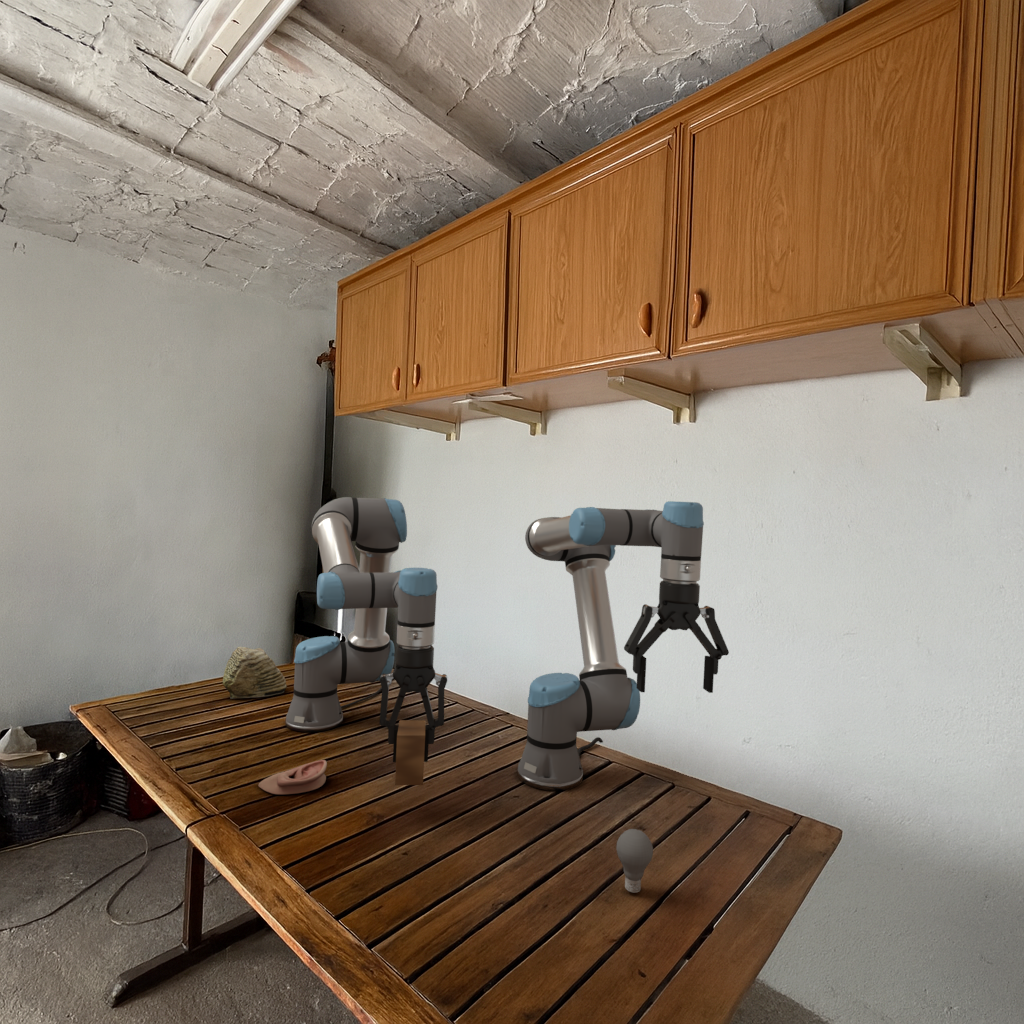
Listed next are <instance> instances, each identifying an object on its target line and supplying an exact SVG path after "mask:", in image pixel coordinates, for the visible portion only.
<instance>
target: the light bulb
mask: <svg viewBox="0 0 1024 1024" xmlns="http://www.w3.org/2000/svg"><path fill="white" fill-rule="evenodd" d="M615 849H616V854H617V857H618V859H619V861H620V863H621V865H622V867H623V873H624V874H623V875H624V876H625V878H624V888H625V890H627V891H628V892H630V893H634V894H635V893H639V892H640V891H641V889H642V887H641V886H642V879H643V877H644V875H645V871H646V868H647V867H648V866H649V864H650V863H651V861H652V859H653V855H654V847H653V843H652V841H651V838H649V836H648V835H647V834H646V833H645V832H643V831H642V830H641V829H636V828H629V829H627V830H625V831H623V832H622V833H621V834H620V835H619V837H618V839H617V841H616V847H615Z"/></svg>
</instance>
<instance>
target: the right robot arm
mask: <svg viewBox="0 0 1024 1024" xmlns="http://www.w3.org/2000/svg"><path fill="white" fill-rule="evenodd" d="M704 525H705V522H704V507H703V505H702V504H701V503H700V502H695V501H672V500H671V501H666V502H665V503H664V504H663V509H662V510H657V509H634V508H633V509H632V508H631V509H629V508H604V507H603V508H602V507H594V506H585V507H577V508H575V509H573V511H572V513H571V514H570V515H566V516H561V517H559V516H548V517H541V518H538V519H536V520H534V521H532V522H531V523H530V524H529V525H528V527H527V529H526V531H525V536H524V538H525V539H524V541H525V545H526V547H527V549H528V550H529V552H530V553H532V554H533V555H534V556H536V557H537V558H538V559H539V558H540V559H542V560H544V561H550V562H564V564H565V571H566V572H567V573H568V574H570V575H571V576H572V582H573V583H572V584H573V589H574V598H575V606H576V613H577V621H578V629H579V638H580V644H581V653H582V660H583V668H582V669H581V671H580V672H579V673H578V676H577V675H576V674H574V673H569V672H564V673H562V672H551V673H546V674H543V675H540V676H537V677H535V678H534V679H532V681H531V682H530V685H529V690H528V697H527V726H526V727H527V729H526V741H525V742H526V743H525V745H524V748H523V752H522V755H521V758H520V760H519V761H518V765H517V777H518V779H519V780H520V782H522V783H524V785H527V786H529V787H532V788H535V789H539V790H544V791H565V790H569V789H570V790H571V789H574V788H576V787H578V786H579V785H581V784H582V782H583V779H584V778H583V777H584V769H583V766H582V762H581V758H580V756H581V754H582V752H583V751H586V750H589V749H591V748H592V747H593V746H594V745H596V744H597V743H600V744H601V743H602V744H603V743H604V740H603V739H602V738H601V737H599V736H596V737H595V738H594V739H593V740H592V741H591V742H590V743H588V744H586V745H583V746H580V747H579V748H578V746H577V738H578V737H577V736H578V733H579V732H580V733H581V732H591V731H592V732H596V731H610V730H611V731H617V730H622V729H627V728H630V727H632V726H633V725H634V724H635V722H636V721H637V719H638V715H639V713H640V709H641V693H645V692H646V678H647V677H646V676H647V675H646V674H647V658H646V657H645V656H644V655H645V654H646V653H647V652H648V650H649V649H650V648H651V647H652V646H653V645H654V643H655V642H656V641H657V640H658V639H659V638H660V637H661V636H662V634H663V633H665V632H667V631H668V630H671V631H677V630H681V631H688V630H690V631H691V632H692V634H693V635H694V636H695V637H696V639H697V640H698V641H699V643H700V644H701V646H702V647H703V648H704V650H705V651H706V652H707V654H708V655H704V662H703V663H704V664H703V683H702V684H703V685H702V689H703V690H704V691H706V692H707V693H709V694H713V693H714V676H715V675H718V674H719V661H720V660H721V659H722V657H723V656H728V655H729V654H730V650H729V648H728V647H727V643H726V641H725V639H724V637H723V634H722V632H721V629H720V627H719V625H718V622H717V620H716V612H715V611H716V610H715V608H714V607H711V606H709V605H705V606H703V607H700V605H699V603H700V588H701V585H700V584H699V583H698V582H699V581H701V568H702V549H703V535H704V534H703V533H704ZM617 546H623V547H624V546H626V547H654V548H655V547H656V548H661V552H660V553H661V554H660V571H659V578H660V579H662V580H661V581H659V589H658V605H657V606H652V605H649V604H647V603H646V604H643V605H642V607H641V614H640V617H639V618H638V620H637V622H636V624H635V625H634V627H633V629H632V631H631V633H630V635H629V637H628V639H627V640H626V643H625V644H624V646H623V650H624V651H625V652H626V653H628V654H629V655H632V671H633V673H635V674H636V680H635V679H634V678H631V677H628V672H627V668H626V667H624V666H623V665H622V664H621V663H620V661H619V655H618V648H617V647H618V646H617V641H616V633H615V629H614V621H613V613H612V609H611V601H610V595H609V588H608V581H607V580H608V579H607V574H606V571H607V570H608V568H609V567H610V565H611V561H612V560H613V559H614V557H615V555H616V549H615V548H616V547H617ZM656 614H657V616H658V617H659V618H658V619H657V621H656V622H655V623H654V625H653V627H651V629H650V630H649V631H648V632H647V634H646V635H644V634H645V632H646V630H647V628H648V626H649V625H650V623H651V620H652V618H654V617H655V615H656ZM700 616H701V617H702V618H703V619H704V622H705V624H706V627H707V629H708V631H709V634H710V636H711V639H712V641H713V643H714V645H715V646H714V645H713V643H712V642H711V640H710V639H709V638H708V637H707V635H706V634H705V632H704V631H703V630H702V628H701V626H700V625H699V624H698V623H697V619H698V618H699V617H700ZM643 636H644V637H643ZM642 637H643V638H642Z"/></svg>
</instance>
